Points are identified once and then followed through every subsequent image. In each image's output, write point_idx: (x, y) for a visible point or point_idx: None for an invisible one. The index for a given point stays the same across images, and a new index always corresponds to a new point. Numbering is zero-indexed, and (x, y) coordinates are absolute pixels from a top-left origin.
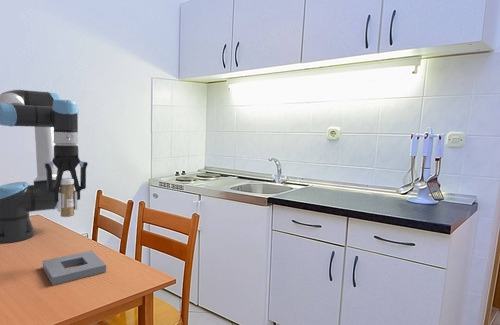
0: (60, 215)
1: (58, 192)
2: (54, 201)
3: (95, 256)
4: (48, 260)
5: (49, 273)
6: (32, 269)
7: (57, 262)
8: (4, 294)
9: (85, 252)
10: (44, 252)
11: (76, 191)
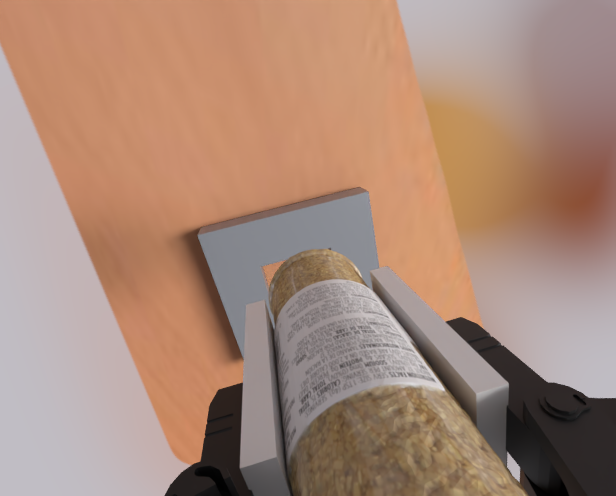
0: (269, 300)
1: (266, 492)
2: (220, 401)
3: (371, 255)
4: (218, 240)
5: (235, 337)
6: (169, 230)
7: (251, 269)
8: (137, 370)
9: (344, 204)
10: (176, 43)
11: (506, 448)
